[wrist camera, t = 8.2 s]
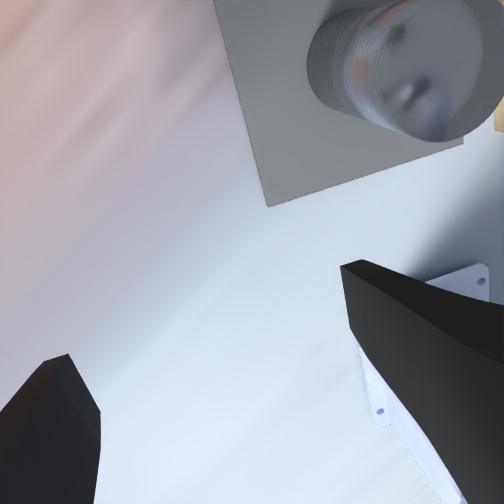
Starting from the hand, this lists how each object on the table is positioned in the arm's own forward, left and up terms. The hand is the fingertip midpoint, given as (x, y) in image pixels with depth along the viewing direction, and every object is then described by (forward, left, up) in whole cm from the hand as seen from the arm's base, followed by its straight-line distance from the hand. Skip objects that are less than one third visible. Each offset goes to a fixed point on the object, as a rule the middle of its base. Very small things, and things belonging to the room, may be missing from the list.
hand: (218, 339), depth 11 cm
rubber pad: (+4, -9, -10) cm, 14 cm away
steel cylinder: (+4, -9, -10) cm, 13 cm away
